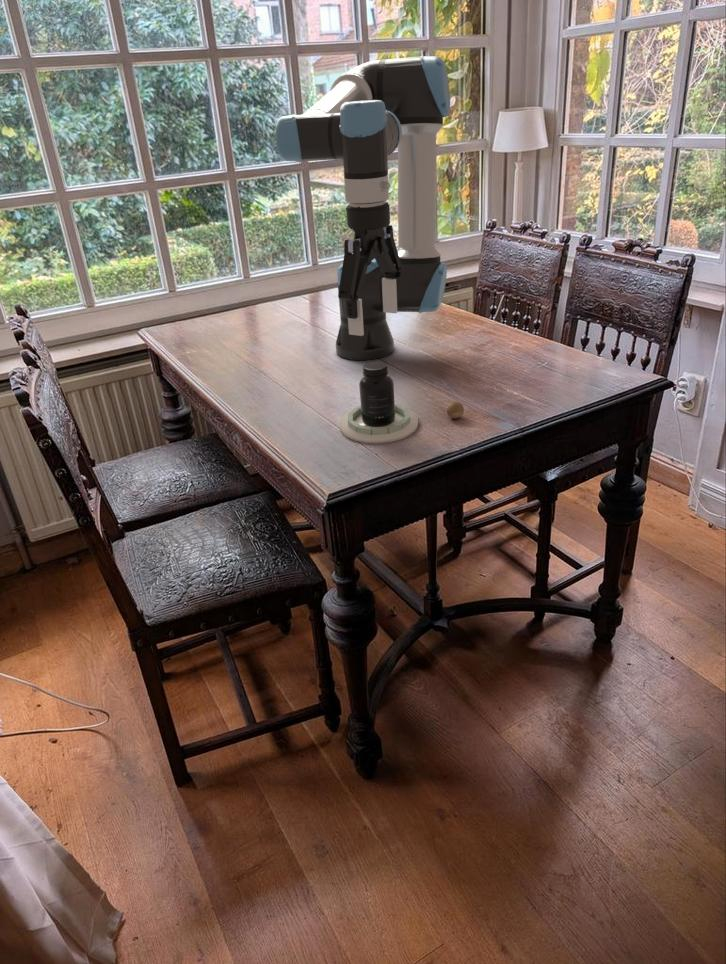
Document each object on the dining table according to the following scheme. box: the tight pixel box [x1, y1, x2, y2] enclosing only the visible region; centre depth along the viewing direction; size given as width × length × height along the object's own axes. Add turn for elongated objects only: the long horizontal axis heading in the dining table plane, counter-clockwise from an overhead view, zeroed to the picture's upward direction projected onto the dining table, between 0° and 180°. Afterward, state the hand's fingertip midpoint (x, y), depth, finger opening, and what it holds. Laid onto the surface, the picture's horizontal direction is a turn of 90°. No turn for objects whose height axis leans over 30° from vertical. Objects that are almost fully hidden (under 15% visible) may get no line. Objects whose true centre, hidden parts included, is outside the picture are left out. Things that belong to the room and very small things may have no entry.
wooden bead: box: [446, 401, 465, 420], centre depth 139 cm, size 4×4×4 cm
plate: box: [339, 403, 419, 444], centre depth 138 cm, size 16×16×2 cm
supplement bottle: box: [358, 360, 396, 427], centre depth 135 cm, size 7×7×12 cm
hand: (374, 323), depth 128 cm, fingers open, 13 cm apart
